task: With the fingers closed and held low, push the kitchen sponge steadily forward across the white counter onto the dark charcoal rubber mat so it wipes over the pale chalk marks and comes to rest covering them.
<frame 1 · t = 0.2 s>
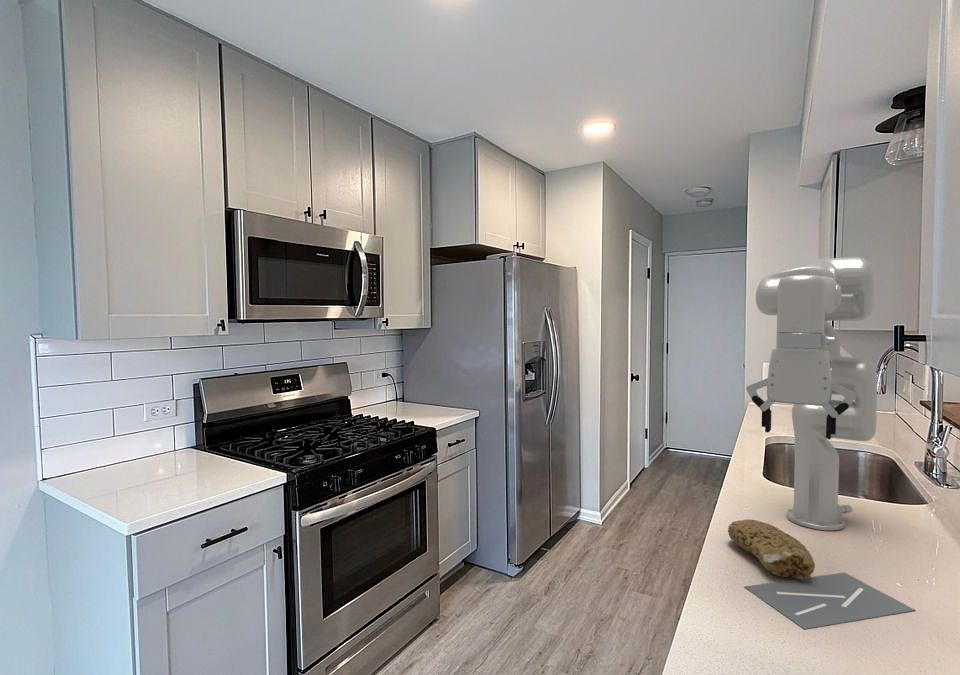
hand: (797, 434, 97), 31 cm above the countertop, tool pointing down, fingers open, 9 cm apart
mat: (826, 598, 97), on the countertop
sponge: (767, 560, 112), on the countertop, touching mat
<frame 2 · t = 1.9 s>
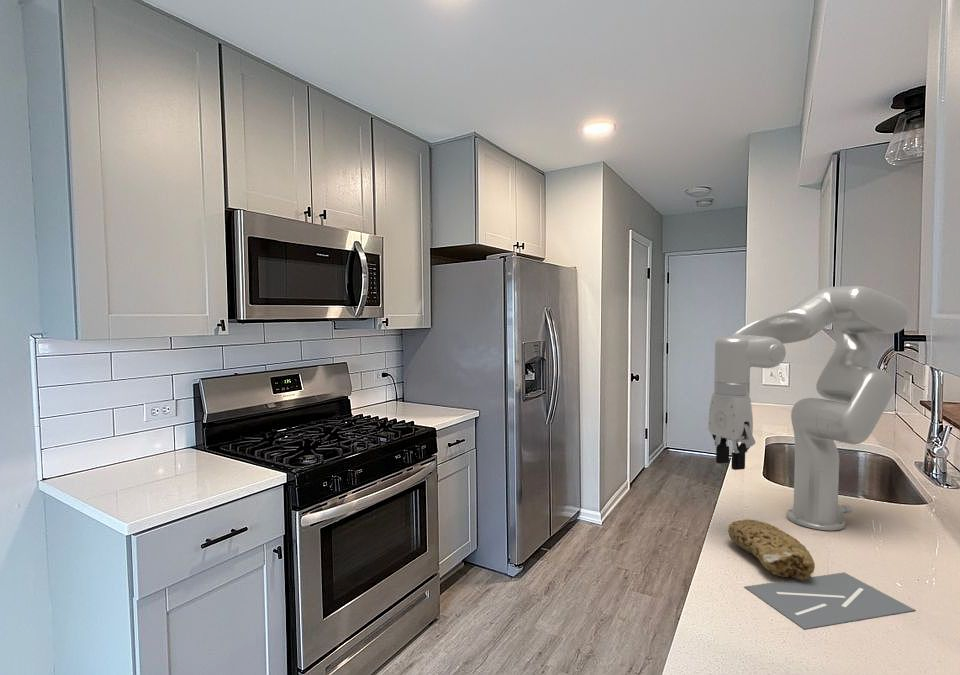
hand: (730, 465, 123), 17 cm above the countertop, tool pointing down, fingers open, 4 cm apart
nothing on the countertop moved.
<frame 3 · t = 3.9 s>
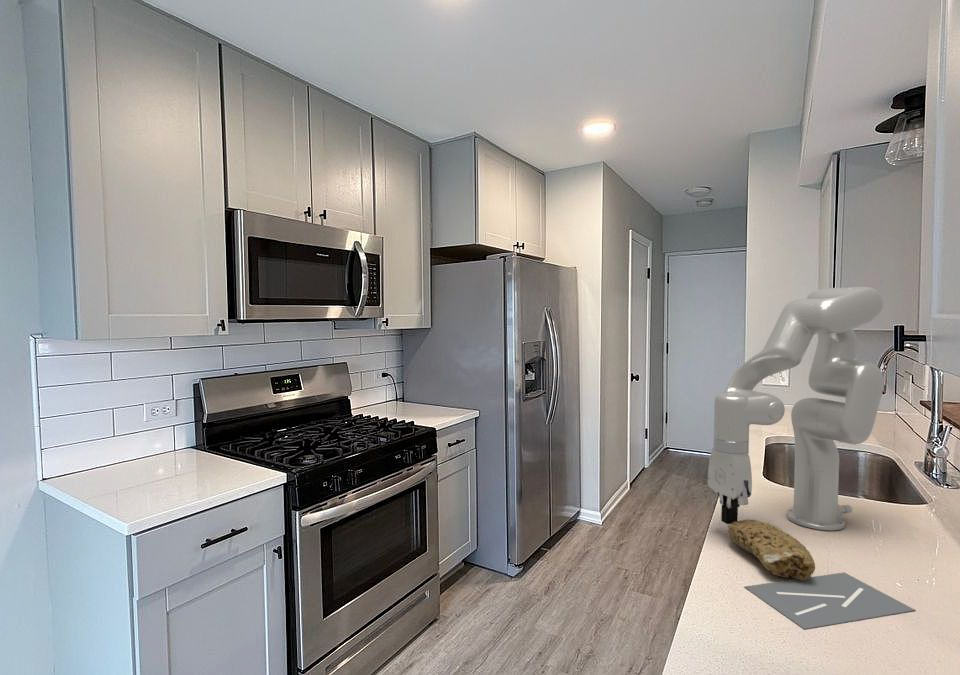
hand: (729, 522, 124), 4 cm above the countertop, tool pointing down, fingers closed
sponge: (767, 560, 112), on the countertop, touching gripper, mat
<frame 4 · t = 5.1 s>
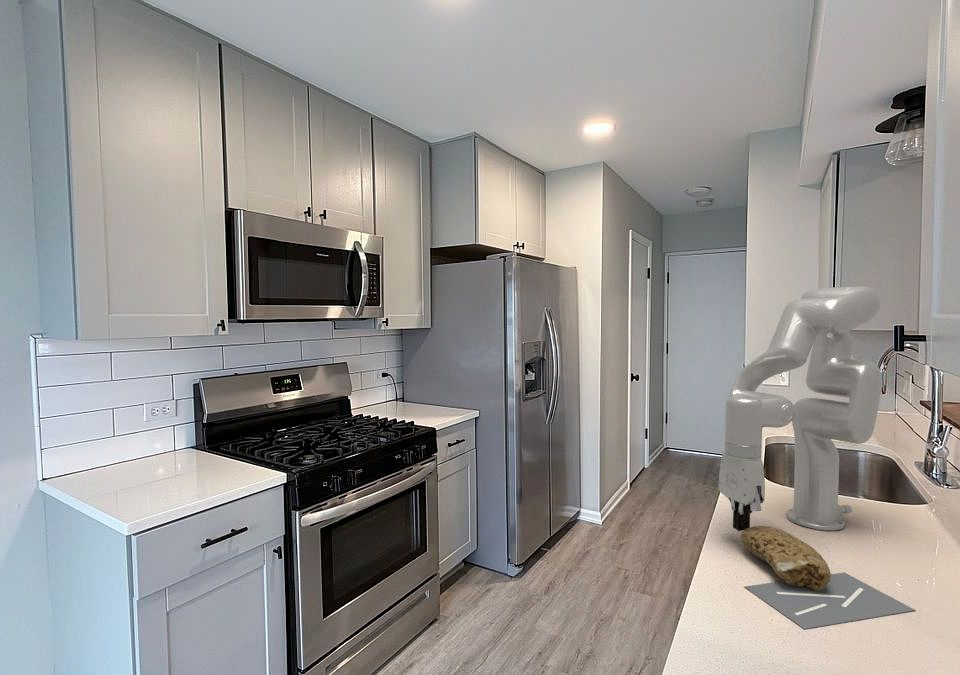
hand: (741, 528, 120), 4 cm above the countertop, tool pointing down, fingers closed
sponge: (781, 568, 109), on the countertop, touching gripper, mat
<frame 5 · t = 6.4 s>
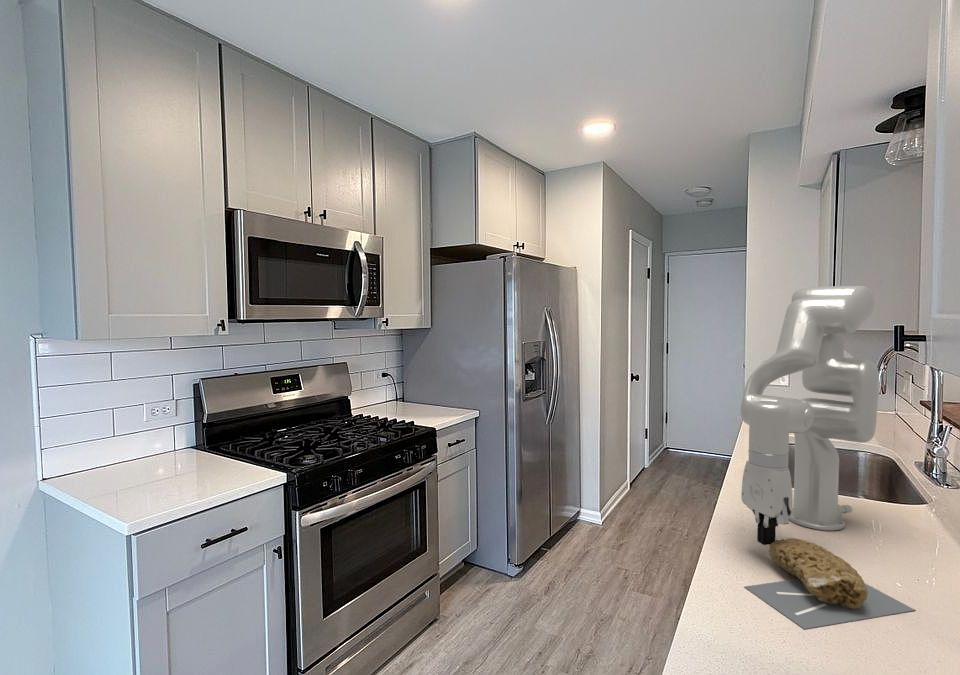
hand: (766, 542, 113), 4 cm above the countertop, tool pointing down, fingers closed
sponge: (813, 584, 102), on the countertop, touching mat
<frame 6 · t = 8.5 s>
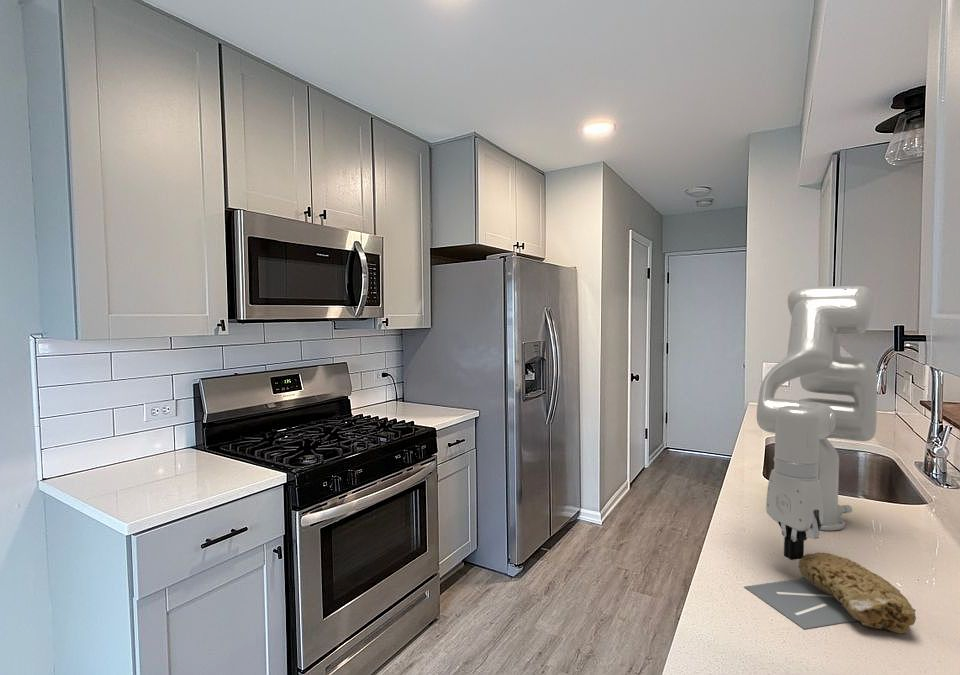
hand: (793, 557, 105), 4 cm above the countertop, tool pointing down, fingers closed
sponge: (849, 604, 95), resting on mat, touching gripper
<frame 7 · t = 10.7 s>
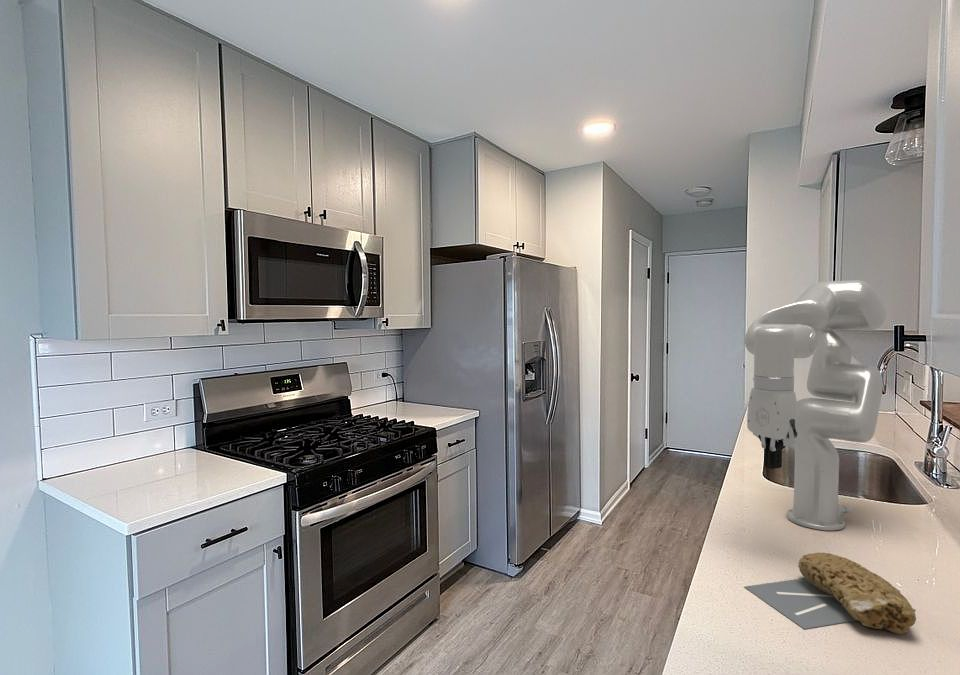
hand: (772, 467, 113), 20 cm above the countertop, tool pointing down, fingers closed
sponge: (849, 604, 95), resting on mat
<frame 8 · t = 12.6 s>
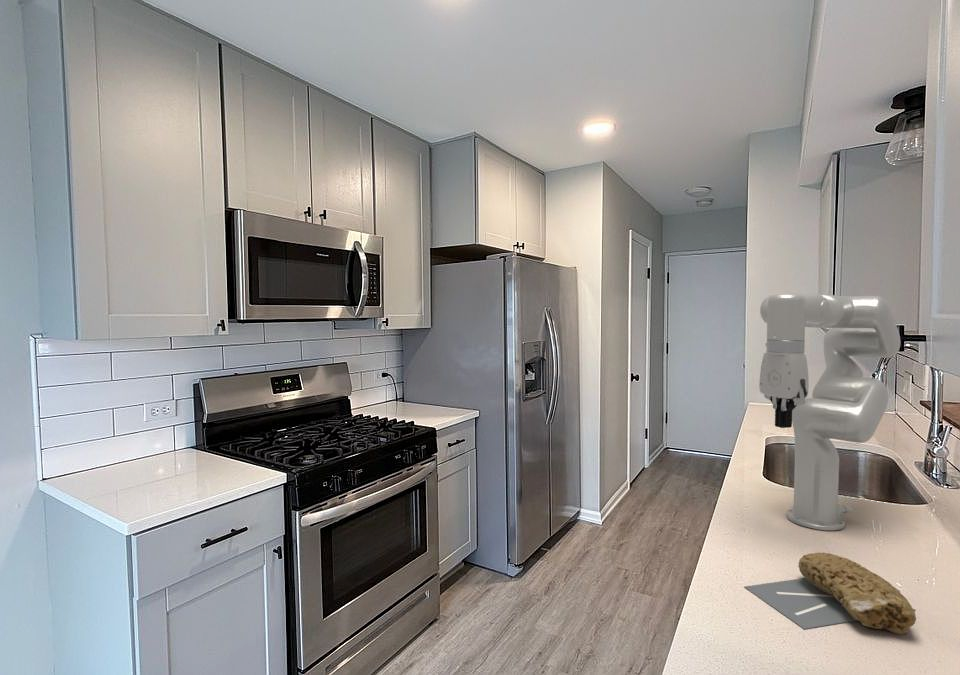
hand: (783, 426, 120), 27 cm above the countertop, tool pointing down, fingers closed
nothing on the countertop moved.
at the end: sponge inside the target area on the mat (3.8 cm from its centre), point 0.0 cm above the mat's base; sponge moved 18.1 cm from its start; the gripper is holding nothing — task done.
